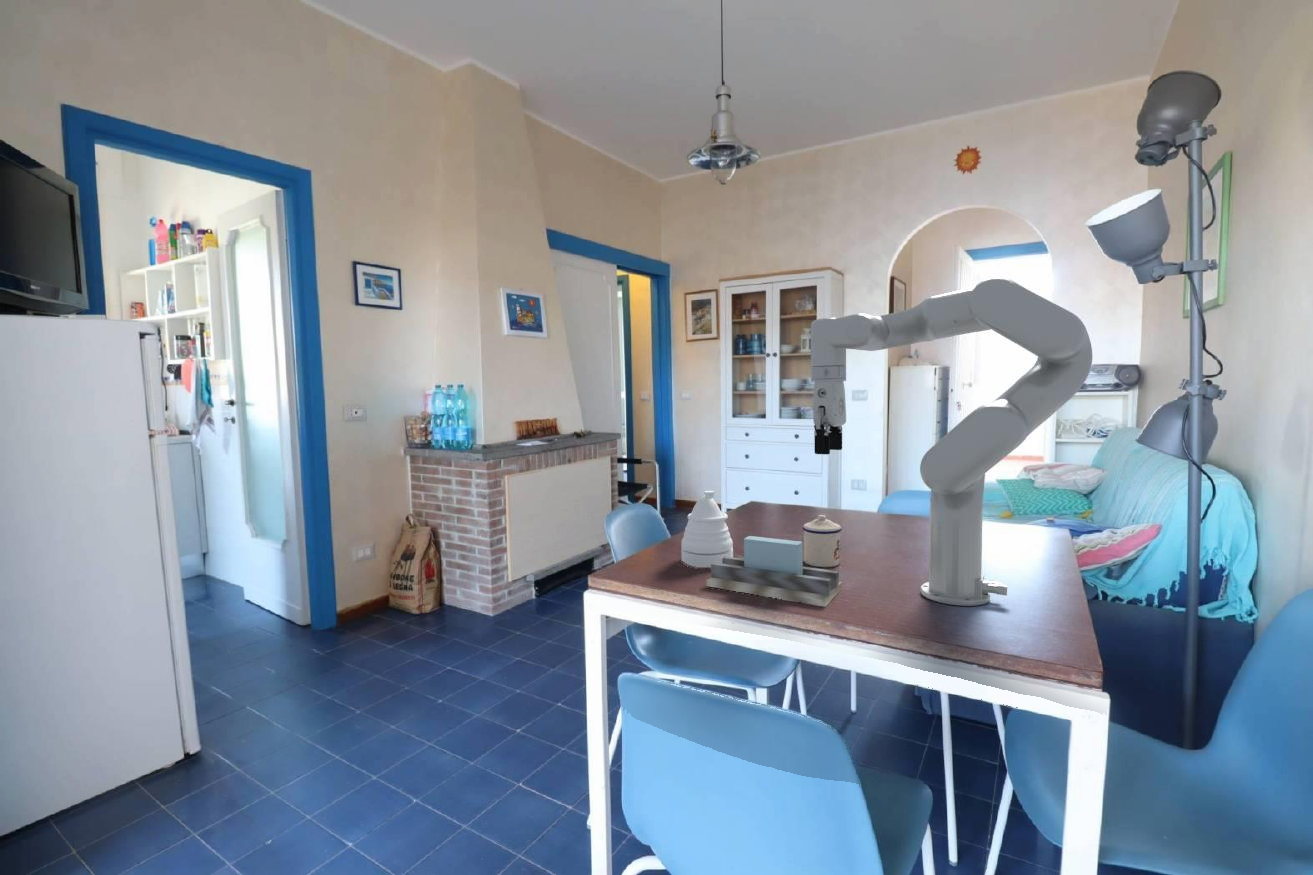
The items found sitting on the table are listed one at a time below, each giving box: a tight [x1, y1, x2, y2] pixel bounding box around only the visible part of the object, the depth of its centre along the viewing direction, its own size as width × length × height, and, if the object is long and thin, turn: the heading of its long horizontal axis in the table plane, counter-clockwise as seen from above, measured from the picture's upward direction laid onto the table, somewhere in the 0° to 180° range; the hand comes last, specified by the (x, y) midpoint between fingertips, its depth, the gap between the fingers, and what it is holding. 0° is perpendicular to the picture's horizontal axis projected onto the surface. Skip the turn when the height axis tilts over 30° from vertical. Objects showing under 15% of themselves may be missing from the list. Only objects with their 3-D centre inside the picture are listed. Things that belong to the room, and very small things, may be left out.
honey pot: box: [680, 490, 734, 567], centre depth 154 cm, size 13×13×18 cm
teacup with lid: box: [802, 514, 842, 568], centre depth 152 cm, size 12×9×12 cm
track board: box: [705, 556, 843, 608], centre depth 132 cm, size 26×12×4 cm, turn 58°
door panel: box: [743, 535, 804, 575], centre depth 132 cm, size 12×3×9 cm, turn 58°
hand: (828, 451), depth 138 cm, fingers open, 9 cm apart
